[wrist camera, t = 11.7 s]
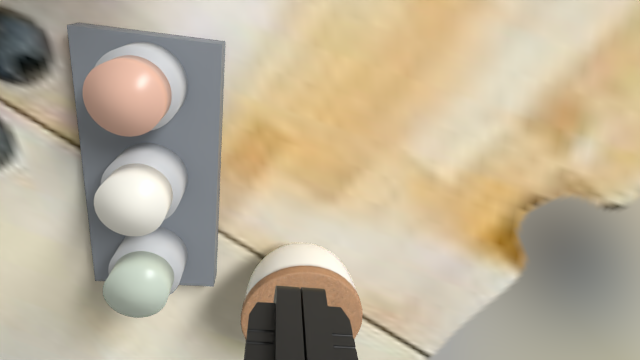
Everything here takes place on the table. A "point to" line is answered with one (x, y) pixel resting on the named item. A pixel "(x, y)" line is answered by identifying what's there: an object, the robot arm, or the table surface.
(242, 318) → the lidded jar
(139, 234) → the knob mid
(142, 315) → the knob
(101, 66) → the knob
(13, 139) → the table surface
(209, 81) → the control board
